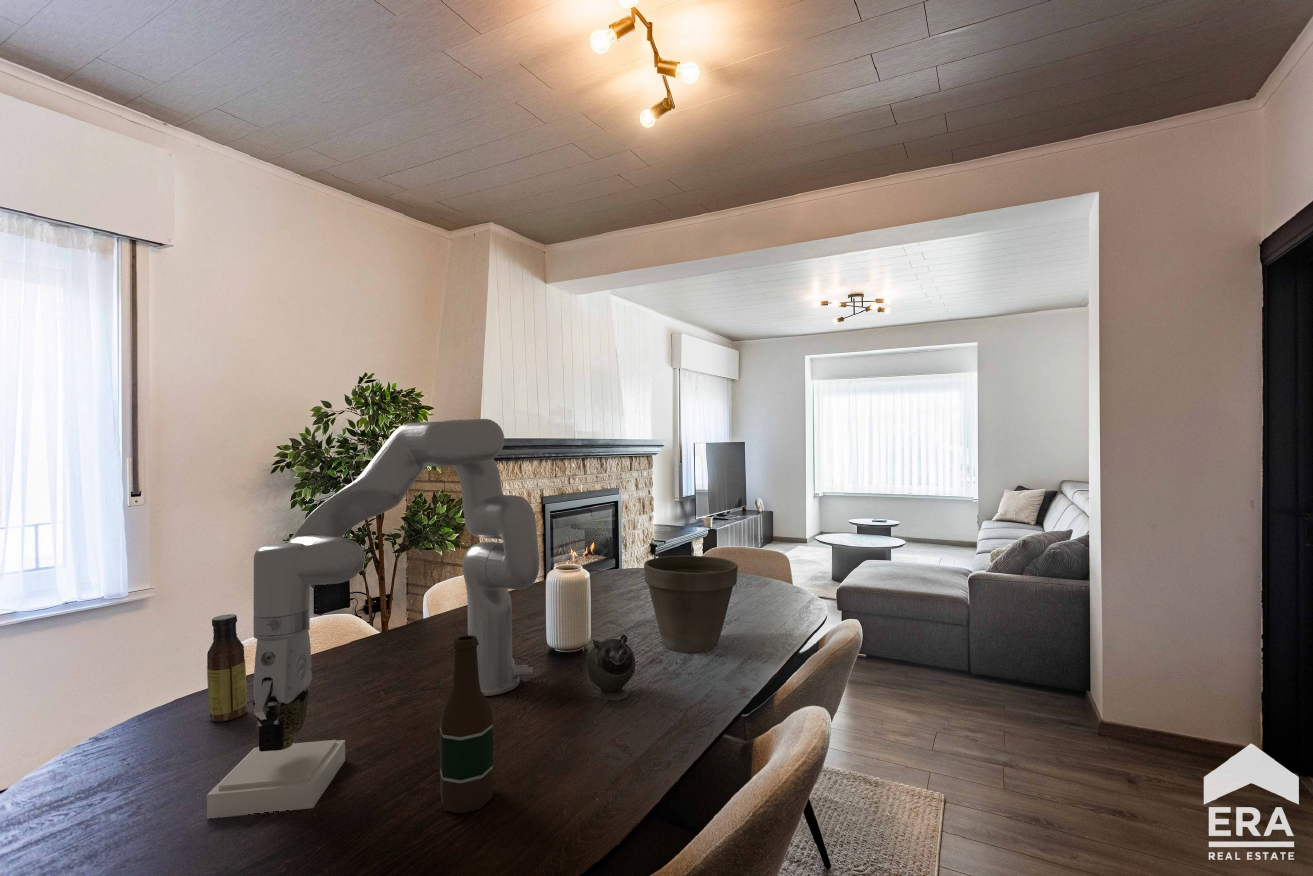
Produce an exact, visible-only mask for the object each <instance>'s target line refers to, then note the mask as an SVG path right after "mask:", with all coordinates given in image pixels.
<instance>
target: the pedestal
mask: <svg viewBox="0 0 1313 876" xmlns="http://www.w3.org/2000/svg"><path fill="white" fill-rule="evenodd" d="M345 761H346V739H341V740H337V739H331V740H317V741H306V742H304V741H303V742H296V743H295V742H294V743H293V745H292V746H290V747H289V748H287V749H284V750H280V751H263V752H261V751H259V745H258V746H257V747H253V749H251V750H250V751H249V753H248V754H246V756H245V757H244V758H243V759H241V760H240V761H239V762H238V763H237V764H236V765H235V766H234V767H233V769H231V770H230V771H229V772H228V773H227V774H226V776H223V778H222V779H221V780H220V781H219V782H218V783H217V784H216V785H215V786H214V787H213V788H212V789H211V790H210V791H209V792H208V793H207V795H206V819H207V820H209V819H210V818H211V819H219V818H220V819H221V818H227V817H228V818H230V817H238V816H249V815H248V814H250V815H255V814H254V813H260V814H265V813H264V812H269V813H276V812H275V811H279V812H287V811H286V810H289V811H297V810H298V811H299V810H306V809H313V808H314V807H316V804H317V803H318V801H319V800H320V798H321V796H322V795H323V794H324V793H325V791H326V789H327V788H328V787H329V786H330V784H331V783H332V781H333V779H334V778H335V776H336V775H337V773H338V772H339V770H340V768H341V767H342V766H343V765H344V763H345ZM273 811H274V812H273ZM218 817H219V818H218Z"/></svg>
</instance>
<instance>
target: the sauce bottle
mask: <svg viewBox="0 0 1313 876" xmlns="http://www.w3.org/2000/svg"><path fill="white" fill-rule="evenodd" d="M237 623H238V617H237V614H234V613H229V614H222V615H218V616H215V617H213V618H212V619H211V625H212V628H213V630H212V632H213V638H212V639H213V641H212V643H211V645H210V647H209V650H208V651H207V653H206V657H207V658H206V673H207V678H206V679H207V695H208V697H207V699H208V713H209V719H210V720H211V721H212V722H217V723H218V722H219V723H221V722H227V721H232V720H235V719H238V718H240V717H242V716H244V715H245V713H246V712H247V708H248V707H247V704H248V693H247V692H248V691H247V671H246V669H247V667H246V659H245V645H244V644H243V643H242V641H241V640H240V639H239V637H238V634H237Z"/></svg>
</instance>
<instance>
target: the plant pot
mask: <svg viewBox="0 0 1313 876" xmlns="http://www.w3.org/2000/svg"><path fill="white" fill-rule="evenodd" d="M738 569H739V565H738V564H737V563H736V562H735V561H734V560H733V561H732V560H729V559H727V558H726V559H725V558H723V557H722V558H721V557H715V556H713V557H712V556H704V555H703V556H702V555H669V556H660V557H653V558H651V559H647V560H646V561H645V562H644V563H643V570H644V572H643V573H644V582H645V583H646V584H647V585H648V589H649V594H650V598H651V603H652V606H653V610H654V615H655V619H656V622H657V626H658V630H659V634H660V638H661V641H662V644H663V646H664V647H665V648H667V649H669V650H672V651H675V652H679V651H680V653H688V652H696V653H703V652H702V651H705V652H707V651H706V650H709V651H711V650H710V649H712V648H714V647H715V648H716V647H717V646H718V644H719V642H720V637H721V635H722V631H723V627H724V623H725V619H726V615H727V612H728V608H729V604H730V600H731V597H732V592H733V588H734V587H735V586H736V585H737V583H738ZM715 648H714V649H715ZM712 650H713V649H712Z"/></svg>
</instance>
